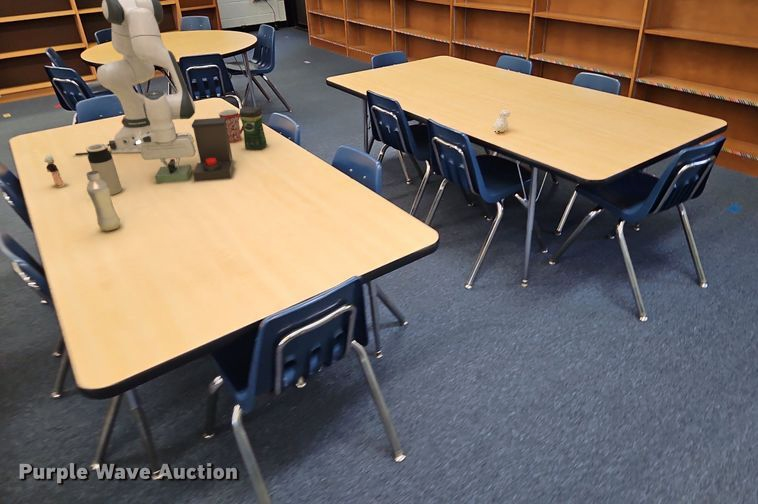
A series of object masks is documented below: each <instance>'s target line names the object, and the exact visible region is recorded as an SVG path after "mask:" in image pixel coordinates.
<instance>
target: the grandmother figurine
mask: <svg viewBox="0 0 758 504" xmlns="http://www.w3.org/2000/svg"><path fill="white" fill-rule="evenodd" d="M43 163H47V165H46V167H45V168H46V171H47V173H51V177H52V179H53V183H54V187H55V188H56V187H57V188H59V189H60V188H63V187H66V184H65V183H64V180H63V178H62V176H61V173H60V171H59V168H58V167H57V165H56V164H55V159H54V157H53V155H51V154H47V155H46V156H45V157H44V160H43Z"/></svg>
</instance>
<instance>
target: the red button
mask: <svg viewBox="0 0 758 504" xmlns="http://www.w3.org/2000/svg"><path fill="white" fill-rule="evenodd" d="M206 164H207V166H213V165H216V164H217V161H216V158H208V159H206Z"/></svg>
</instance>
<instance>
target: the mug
mask: <svg viewBox="0 0 758 504" xmlns="http://www.w3.org/2000/svg"><path fill="white" fill-rule="evenodd" d="M218 117H219V118H224V117H226V126H227V132H228V137H229V142H230V143H237V142H240V141H241V140H242V133H243V132H244V131H243V125H242V126H240V112H239V110H237V109H225V110H221V111H219V112H218ZM240 127H241V128H240Z"/></svg>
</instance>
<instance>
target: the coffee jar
mask: <svg viewBox="0 0 758 504" xmlns="http://www.w3.org/2000/svg"><path fill="white" fill-rule="evenodd" d="M239 113H240V118H239V120H240V121H241V124H242V126H243V131H242V132H243V141H244V148H245V149H246V150H254V151H255V150H263V149H265V148H266V147H267V145H268V144H267V143H268V141H267V138H266V134H265V129H264V126H263V121H262V120H263V111H262V109H261V107H260V106H243V107H241V108H240V109H239Z"/></svg>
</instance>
